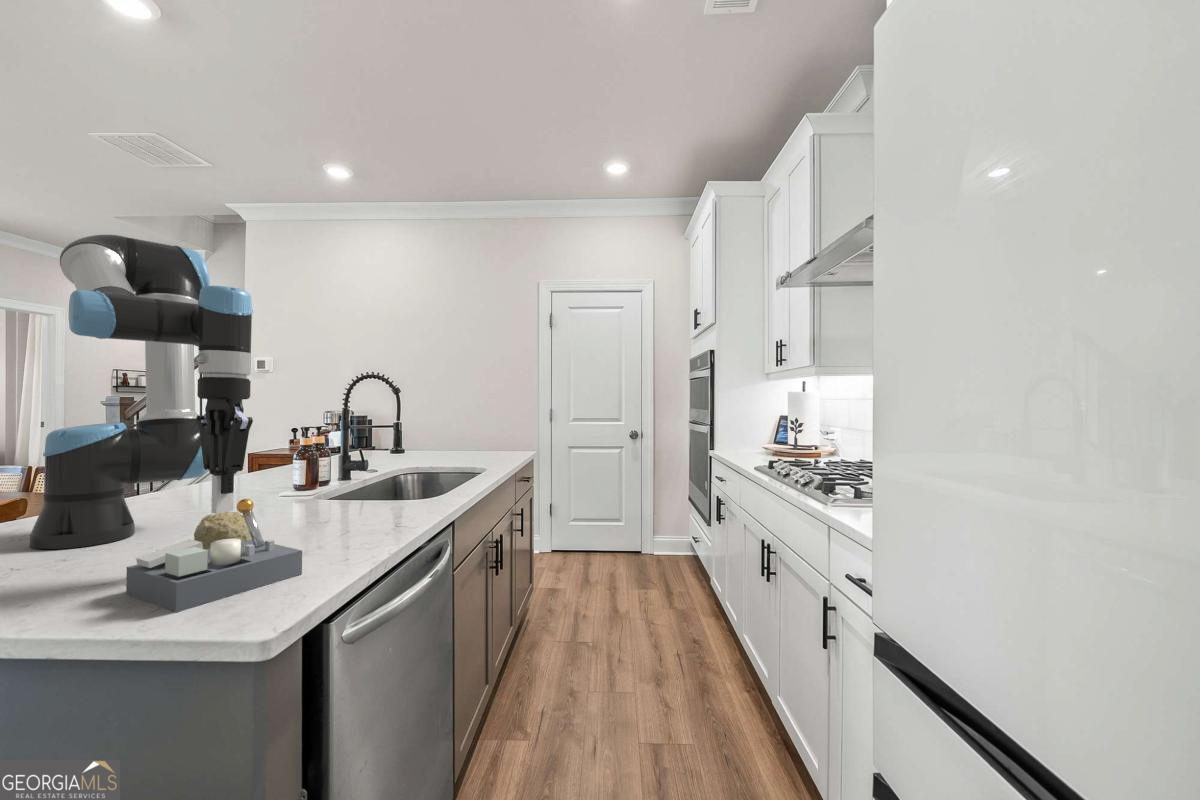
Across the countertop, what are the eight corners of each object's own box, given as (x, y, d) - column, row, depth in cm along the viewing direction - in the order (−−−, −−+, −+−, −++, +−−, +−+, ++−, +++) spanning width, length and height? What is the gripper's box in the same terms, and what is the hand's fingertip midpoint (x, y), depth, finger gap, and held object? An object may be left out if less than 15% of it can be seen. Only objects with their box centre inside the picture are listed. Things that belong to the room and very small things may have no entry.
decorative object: (251, 564, 103) (236, 519, 106) (268, 544, 98) (251, 497, 101) (195, 581, 96) (180, 532, 98) (209, 561, 90) (193, 509, 93)
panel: (126, 593, 78) (126, 554, 78) (252, 561, 94) (252, 529, 94) (176, 612, 72) (176, 569, 72) (301, 574, 88) (302, 539, 88)
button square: (165, 572, 75) (165, 552, 75) (193, 565, 78) (194, 546, 78) (178, 576, 73) (178, 556, 73) (207, 569, 77) (207, 550, 77)
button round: (204, 562, 80) (205, 543, 80) (231, 556, 83) (232, 537, 83) (218, 566, 78) (219, 546, 78) (245, 559, 81) (246, 540, 81)
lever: (248, 551, 86) (231, 504, 88) (263, 547, 88) (246, 502, 90) (256, 544, 85) (238, 497, 87) (270, 540, 87) (253, 495, 89)
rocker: (137, 564, 78) (135, 558, 78) (190, 544, 84) (189, 539, 84) (149, 568, 76) (148, 561, 76) (203, 548, 82) (201, 542, 82)
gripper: (179, 375, 91) (177, 511, 91) (222, 375, 85) (220, 520, 85) (226, 377, 98) (224, 504, 98) (269, 377, 92) (267, 512, 92)
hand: (222, 511), depth 91 cm, fingers closed
